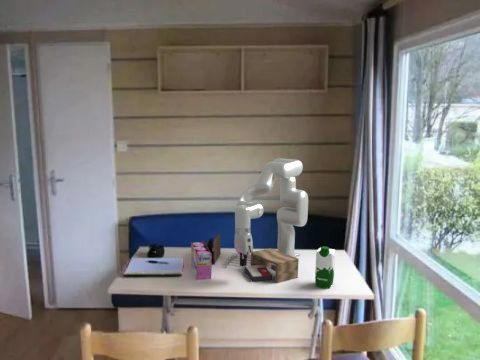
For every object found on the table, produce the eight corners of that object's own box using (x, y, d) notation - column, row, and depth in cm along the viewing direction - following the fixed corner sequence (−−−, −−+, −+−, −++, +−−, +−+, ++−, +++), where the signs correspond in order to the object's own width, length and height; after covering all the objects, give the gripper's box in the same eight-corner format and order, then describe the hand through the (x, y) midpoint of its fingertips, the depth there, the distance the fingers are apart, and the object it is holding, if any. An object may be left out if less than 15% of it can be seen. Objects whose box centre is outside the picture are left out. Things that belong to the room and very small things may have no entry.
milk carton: (313, 286, 229) (314, 247, 226) (317, 280, 237) (319, 242, 234) (330, 289, 225) (332, 250, 222) (335, 283, 233) (336, 245, 230)
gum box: (190, 264, 258) (190, 241, 256) (204, 264, 259) (204, 240, 257) (196, 280, 235) (196, 254, 233) (211, 279, 237) (212, 253, 234)
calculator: (252, 276, 233) (244, 264, 247) (252, 284, 234) (244, 272, 248) (273, 274, 236) (263, 263, 250) (272, 282, 236) (263, 270, 251)
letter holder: (220, 254, 277) (220, 231, 275) (214, 265, 258) (214, 240, 256) (204, 253, 279) (204, 230, 277) (197, 264, 259) (197, 239, 257)
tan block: (270, 265, 258) (270, 248, 257) (297, 277, 240) (298, 258, 239) (250, 270, 250) (250, 252, 248) (277, 283, 232) (277, 263, 231)
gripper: (258, 232, 225) (258, 268, 229) (240, 225, 237) (240, 259, 241) (245, 235, 221) (246, 271, 224) (228, 228, 233) (228, 262, 236)
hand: (243, 265), depth 233 cm, fingers closed
